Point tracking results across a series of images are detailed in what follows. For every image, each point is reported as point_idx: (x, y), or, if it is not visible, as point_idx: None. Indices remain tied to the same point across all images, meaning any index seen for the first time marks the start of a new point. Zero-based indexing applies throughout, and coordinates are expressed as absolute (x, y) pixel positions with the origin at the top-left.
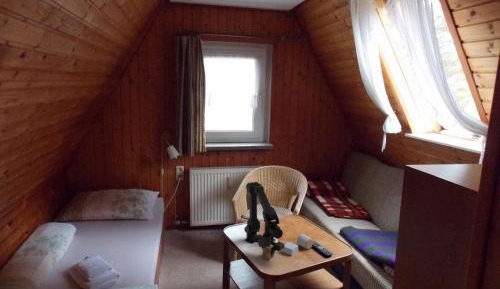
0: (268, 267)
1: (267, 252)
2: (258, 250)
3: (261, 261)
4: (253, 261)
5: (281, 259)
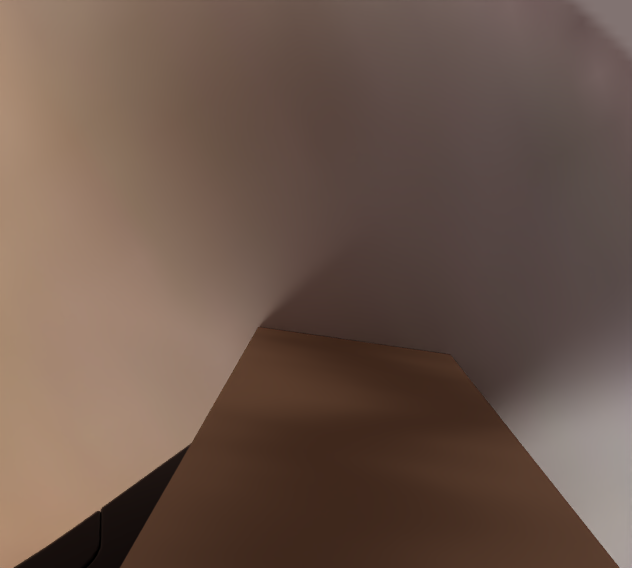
0: (109, 13)
1: (303, 463)
2: (628, 541)
3: (394, 179)
4: (591, 54)
5: (73, 470)
